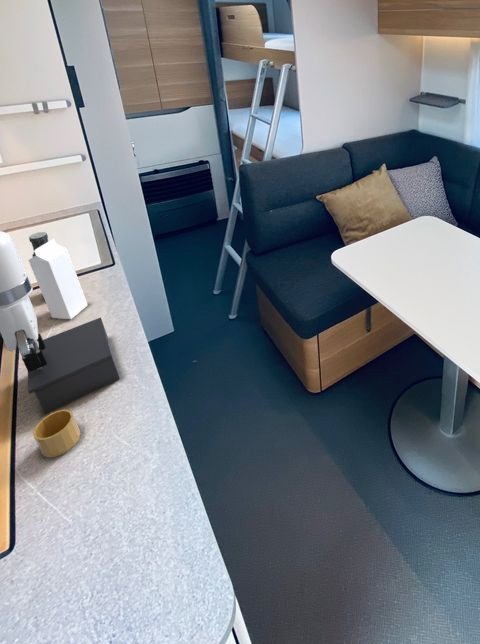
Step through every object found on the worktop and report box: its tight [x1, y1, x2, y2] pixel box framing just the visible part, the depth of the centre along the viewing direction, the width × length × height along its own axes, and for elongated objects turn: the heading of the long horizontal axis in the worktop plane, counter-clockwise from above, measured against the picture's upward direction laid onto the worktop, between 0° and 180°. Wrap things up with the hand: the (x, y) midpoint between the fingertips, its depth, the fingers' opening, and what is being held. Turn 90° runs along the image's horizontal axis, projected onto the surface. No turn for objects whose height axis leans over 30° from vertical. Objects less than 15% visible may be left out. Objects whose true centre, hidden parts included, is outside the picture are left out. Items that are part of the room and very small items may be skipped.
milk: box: [28, 238, 88, 320], centre depth 111 cm, size 6×6×22 cm
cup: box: [32, 409, 81, 458], centre depth 79 cm, size 6×6×5 cm
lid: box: [27, 316, 112, 395], centre depth 91 cm, size 15×16×5 cm
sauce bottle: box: [28, 231, 50, 258], centre depth 119 cm, size 6×6×20 cm
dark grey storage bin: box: [34, 321, 120, 415], centre depth 94 cm, size 14×16×6 cm
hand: (37, 358), depth 89 cm, fingers closed on lid, 5 cm apart
